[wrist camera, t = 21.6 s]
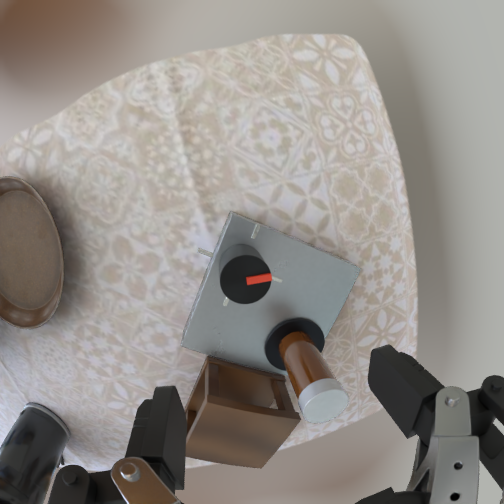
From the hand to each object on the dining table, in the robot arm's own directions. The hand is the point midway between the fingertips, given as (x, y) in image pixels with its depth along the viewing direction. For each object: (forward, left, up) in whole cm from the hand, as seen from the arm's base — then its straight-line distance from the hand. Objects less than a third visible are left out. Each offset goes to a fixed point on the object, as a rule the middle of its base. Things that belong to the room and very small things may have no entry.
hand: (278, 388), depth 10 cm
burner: (-6, -8, -16) cm, 19 cm away
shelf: (-17, -6, -19) cm, 26 cm away
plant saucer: (-9, +25, -19) cm, 33 cm away
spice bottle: (-5, -8, -16) cm, 19 cm away
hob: (-3, -4, -19) cm, 20 cm away
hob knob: (0, 0, -16) cm, 16 cm away
